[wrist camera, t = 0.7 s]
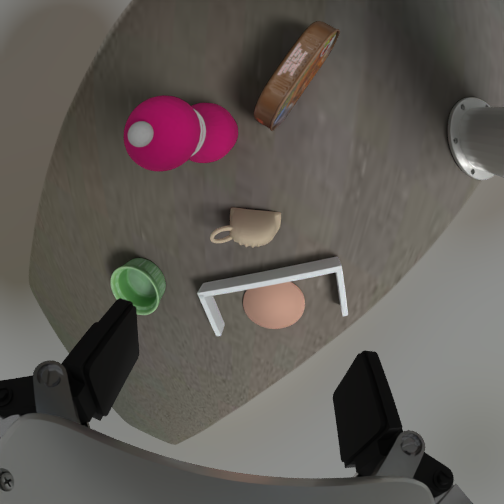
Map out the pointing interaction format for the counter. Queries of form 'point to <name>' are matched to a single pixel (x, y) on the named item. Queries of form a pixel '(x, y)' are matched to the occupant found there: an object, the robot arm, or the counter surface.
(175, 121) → the pepper mill
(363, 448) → the robot arm
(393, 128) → the counter surface
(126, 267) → the ramekin
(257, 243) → the beige cup
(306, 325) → the counter surface
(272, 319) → the mat
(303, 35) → the tin
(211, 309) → the white display riser
